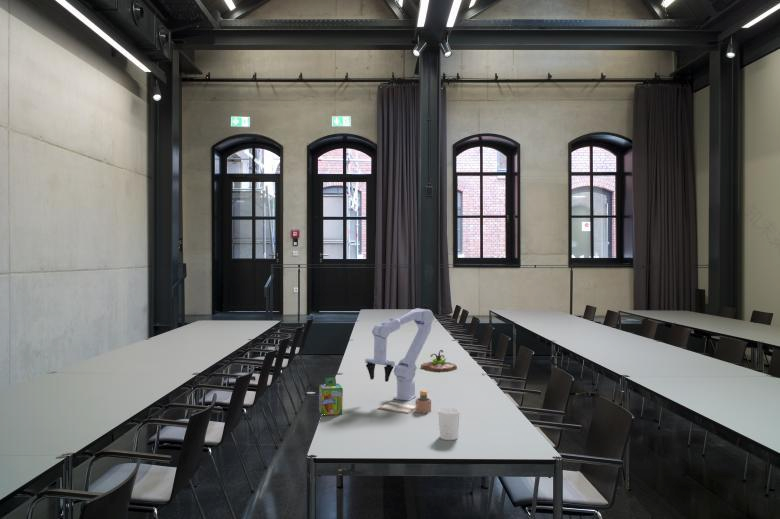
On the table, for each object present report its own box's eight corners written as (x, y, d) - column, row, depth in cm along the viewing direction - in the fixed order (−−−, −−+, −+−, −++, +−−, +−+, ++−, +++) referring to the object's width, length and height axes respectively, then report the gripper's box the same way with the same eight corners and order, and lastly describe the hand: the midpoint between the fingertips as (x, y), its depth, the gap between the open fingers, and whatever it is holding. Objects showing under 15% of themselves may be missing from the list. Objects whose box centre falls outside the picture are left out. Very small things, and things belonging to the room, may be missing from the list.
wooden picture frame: (390, 402, 252) (390, 401, 252) (419, 406, 245) (419, 405, 245) (377, 409, 241) (377, 407, 241) (408, 413, 234) (408, 412, 234)
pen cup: (419, 408, 243) (419, 396, 243) (432, 410, 240) (432, 398, 240) (413, 411, 237) (413, 400, 237) (427, 413, 234) (427, 402, 234)
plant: (462, 369, 327) (462, 350, 327) (438, 373, 315) (439, 354, 315) (439, 364, 342) (440, 346, 342) (416, 367, 330) (416, 349, 330)
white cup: (457, 433, 208) (457, 407, 208) (461, 440, 200) (461, 413, 200) (437, 434, 208) (437, 407, 208) (439, 441, 200) (439, 414, 200)
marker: (421, 408, 240) (421, 390, 240) (427, 409, 239) (428, 391, 239) (418, 409, 238) (419, 391, 237) (425, 411, 236) (425, 392, 236)
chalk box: (321, 416, 230) (321, 381, 230) (318, 410, 239) (318, 376, 239) (343, 414, 232) (343, 380, 232) (339, 408, 241) (339, 375, 241)
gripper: (362, 350, 251) (361, 379, 251) (390, 353, 244) (389, 383, 244) (369, 348, 257) (368, 377, 257) (397, 351, 250) (396, 381, 250)
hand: (379, 380), depth 251 cm, fingers open, 7 cm apart
